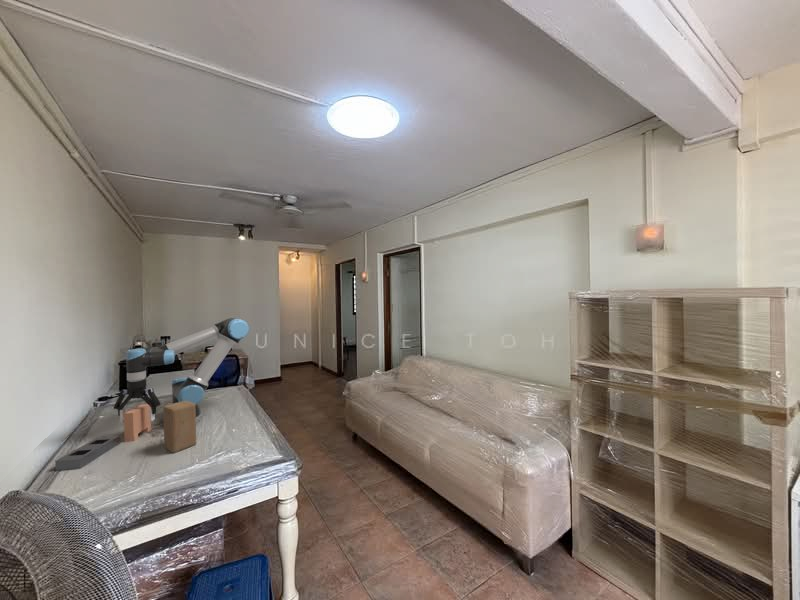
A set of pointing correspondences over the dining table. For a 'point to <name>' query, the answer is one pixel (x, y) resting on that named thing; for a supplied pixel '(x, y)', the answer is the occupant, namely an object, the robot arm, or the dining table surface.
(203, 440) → the dining table surface
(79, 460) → the gray slotted base
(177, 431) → the wooden block
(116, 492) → the dining table surface
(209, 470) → the dining table surface
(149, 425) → the orange upright block
